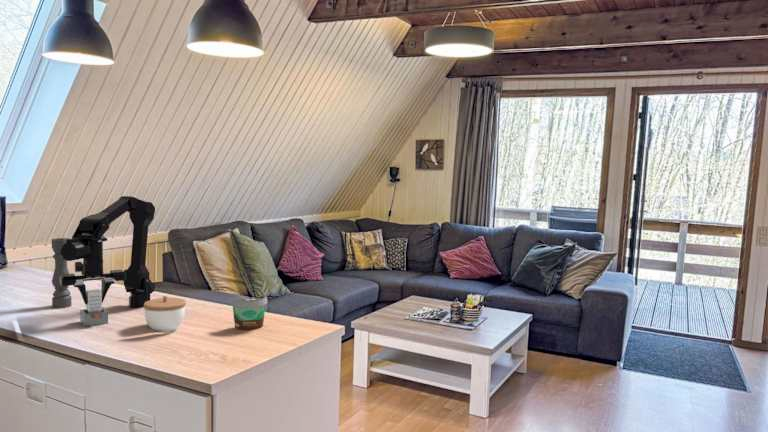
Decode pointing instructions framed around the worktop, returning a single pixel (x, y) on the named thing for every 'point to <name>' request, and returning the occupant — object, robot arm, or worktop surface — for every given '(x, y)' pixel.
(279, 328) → the worktop surface
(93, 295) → the grey tall block
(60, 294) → the candle holder
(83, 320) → the stand base
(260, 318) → the food container
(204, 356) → the worktop surface
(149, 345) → the worktop surface
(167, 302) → the lidded bowl
